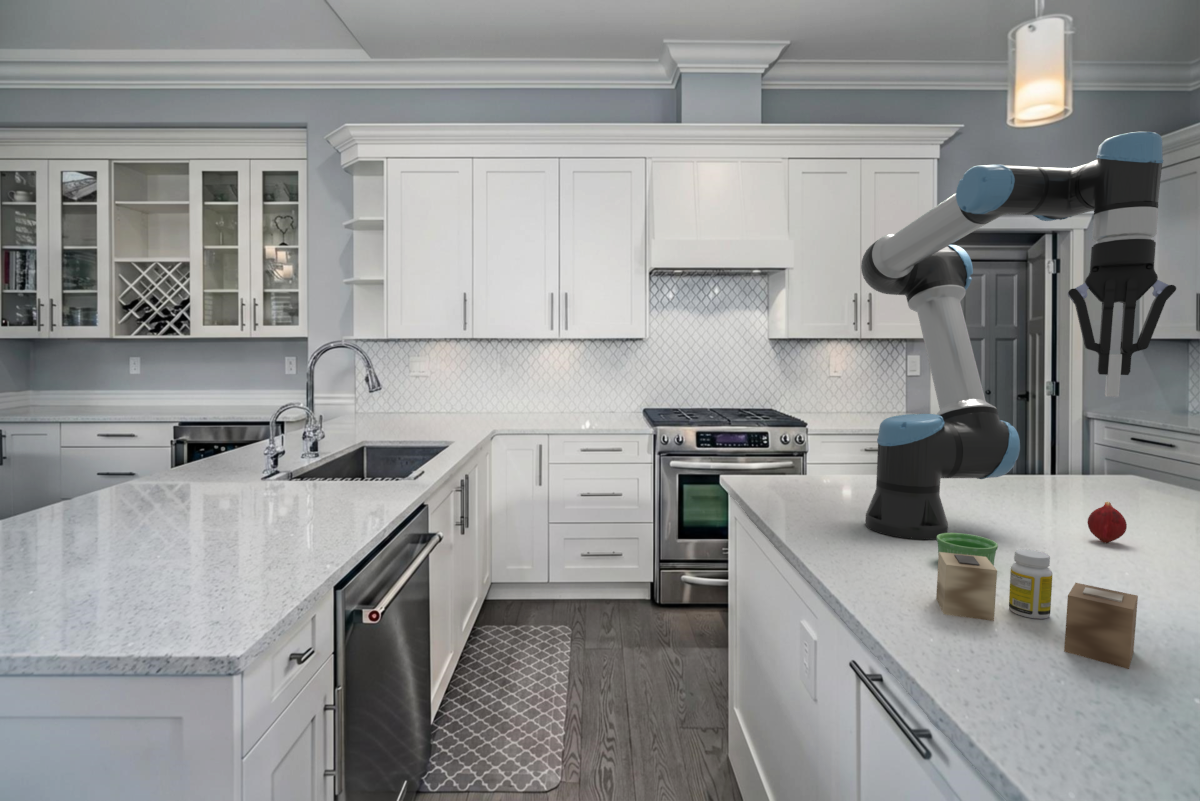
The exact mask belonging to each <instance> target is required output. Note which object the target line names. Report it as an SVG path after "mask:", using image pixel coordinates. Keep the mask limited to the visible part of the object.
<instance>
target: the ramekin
mask: <svg viewBox="0 0 1200 801" xmlns="http://www.w3.org/2000/svg"><path fill="white" fill-rule="evenodd" d="M936 541H937V553H938V554H937V556H938V557H939V552H945V553H954V554H964V555H974V556H983V557H987V558H988V560H989V561H990V562H991V563H992V565H993V566H994V565H995V559H996V554H997V553H996V552H997V550H998V548H999V545H998V543H997V542H996V541H994V540H992V539H989V538H987V537H983V536H980V535H976V534H968V533H961V532H948V533H942V534H939V535H937V539H936ZM994 567H995V566H994Z"/></svg>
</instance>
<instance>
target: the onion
mask: <svg viewBox="0 0 1200 801" xmlns="http://www.w3.org/2000/svg"><path fill="white" fill-rule="evenodd" d="M1087 525H1088V529H1089V531H1090V533H1091V534H1092V535H1093V536H1094V537H1095V538H1096V539H1097V540H1099V541H1100V542H1101V543H1103V544H1109V543H1111V542H1114V541H1117V540H1118V539H1120V538H1121V537H1122V536H1123V535H1124V534H1125V533H1126V531H1127V525H1128V524H1127V520H1126V519H1125V517H1124V516H1123V514H1122V513H1121V512H1120V511H1119V510H1117V509H1116V508H1115V507H1113V505H1112V503H1111V502H1109V501H1105V502H1104V505H1103V506H1101V507H1098V508H1096V509H1094V510H1093V511H1092V512H1091V513H1090V514H1089V516H1088V518H1087Z"/></svg>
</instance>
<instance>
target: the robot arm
mask: <svg viewBox="0 0 1200 801" xmlns="http://www.w3.org/2000/svg"><path fill="white" fill-rule="evenodd" d="M1163 164H1164V159H1163V137H1162V136H1161V135H1160V134H1159V133H1157V132H1153V131H1134V132H1127V133H1121V134H1118V135H1117V134H1116V135H1114V136H1112V137H1108V138H1106V139H1105V140H1103V142H1101V143H1100V145H1098V149H1097V153H1096V159H1095V160H1092V161H1090V162H1088V163H1086V164H1082V165H1079V166H1075V167H1072V168H1071V167H1068V168H1067V167H1044V166H1043V167H1041V166H1021V165H1004V164H1000V163H999V164H997V163H995V164H993V163H992V164H987V165H986V164H984V165H981V164H980V165H974V166H972V167H970V168H969V169H968V170H966V171H965V172H964V174H963V177H962V178H961V179H959V182H958V184H957V187H956V192H955V193H954V194H952V195H951V196H949V197H948V198H946V199H944V200H943V201H942V202H940V203H939V204H937V205H936V206H934V207H932V208H931V209H930V210H929V211H927V212H925V213H924V214H922V215H921V216H919V217H918V218H917V219H915V220H914V221H912V222H910V223H909V224H907V225H906V226H905V227H903V228H901V229H899V231H897V232H896V233H894V234H893V233H891V234H886V235H884V236H881V237H880V238H879V239H877V240H876V241H875V242H873V243H872V244H871V245H870V246H869V247H867V249H866V251H865V252H864V254H863V255H862V260H861V264H860V269H861V274H862V277H863V279H864V282H866V283H867V285H868V286H869V287H870V288H872V290H874V291H876V292H878V293H881V294H885V295H895V296H897V295H899V296H904V297H906V301H907V306H908V309H910V310H912V311H913V312H915V313H917V316H918V319H919V325H920V329H921V334H922V340H923V342H924V346H925V351H926V356H927V360H928V365H929V367H930V368H929V369H930V373H931V377H932V382H933V386H934V391H935V395H936V398H937V399H936V400H937V404H938V407H939V411H938V412H937V413H936V414H935V413H917V414H915V413H909V414H908V413H907V414H900V415H894V416H890V417H886V418H885V419H883V420H882V421H881V422H880V424H879V429H878V434H877V440H876V441H877V461H876V485H875V491H874V494H873V496H872V498H871V501H870V503H869V506H868V508H867V510H866V513H865V521H864V522H865V524H864V525H865V526H866V528H868V529H870V530H871V531H874V532H877V533H880V534H882V535H883V534H884V535H887V536H891V537H897V538H903V539H904V538H905V539H912V540H913V539H914V540H937V535H939V534H942V533H949V531H948V530H949V522H948V520H947V516H946V515H947V514H946V512H945V508H944V506H943V502H942V498H941V494H940V493H941V492H940V491H941V490H940V489H941V479H977V480H985V479H988V478H989V479H991V478H1000V477H1003V476H1005V475H1006V474H1008V473H1009V472H1010V471H1011V470H1012V469H1013V468H1014V466H1015V465H1016V461H1017V460H1018V459H1019V456H1020V451H1021V443H1020V442H1021V441H1020V435H1019V432H1018V431H1017V429H1016V428H1015V426H1013V425H1012V424H1011V423H1010V422H1007V421H1005V420H1001V419H1000V417H999V414H998V413H999V412H998V410H997V407H996V406H994V405H993V404H991V403H989V402H987V401H986V398H985V397H986V396H985V394H984V389H983V386H982V382H981V378H980V377H981V376H980V374H979V370H978V366H977V362H976V358H975V355H974V350H973V346H972V343H971V342H972V341H971V338H970V335H969V330H968V327H967V324H966V318H965V316H964V311H963V307H962V304H961V302H962V300H963V299H964V297H965V296H966V294H967V290H968V288H969V287H970V285H971V283H972V280H973V278H972V277H971V275H973V274H974V269H973V268H974V267H973V261H972V260H971V256H970V255H969V253H968V252H967V251H966V250H965V249H964V248H963V247H961V246H959V245H956V244H955V243H956V242H958V241H959V240H961V239H962V238H965V237H966V236H968V235H969V234H971V233H973V232H975V231H977V230H978V229H980V228H982V227H984V226H986V225H988V224H989V223H990V222H992V221H994V220H996V219H998V218H1000V217H1002V216H1004V215H1018V216H1019V215H1020V216H1021V215H1022V216H1023V215H1024V216H1033V217H1035V218H1036V219H1038V220H1039V221H1043V222H1044V221H1045V222H1051V221H1057V220H1059V221H1061V220H1067V219H1068V218H1072V217H1074V216H1077V215H1082V214H1085V213H1089V212H1093V222H1092V237H1091V240H1092V241H1093V242H1094V243H1095V244H1093V246H1091V250H1090V262H1089V263H1090V265H1089V273H1088V275H1087V276H1086V278H1085V280H1084V283H1082V284H1080V285H1078V286H1076V287H1075V288H1070V289H1069V290H1068V292H1067V296H1068V298H1069V299H1070V300H1071V301H1072V303H1073V304H1074V307H1075V310H1076V315H1077V319H1078V322H1079V323H1078V324H1079V327H1080V332H1081V336H1082V341H1083V345H1084V349H1086V350H1087V351H1088V350H1089V351H1092V352H1095V353H1096V354H1098V359H1097V360H1098V362H1097V374H1098V375H1106V376H1105V386H1104V387H1105V390H1104V397H1107V398H1110V397H1111V398H1120V389H1121V377H1122V376H1129V375H1130V373H1131V365H1132V355H1133V354H1134V353H1136V352H1139V351H1144V350H1147V349H1148V348H1149V345H1150V343H1151V340H1152V338H1153V335H1154V332H1155V330H1156V327H1157V324H1158V322H1159V320H1160V318H1161V315H1162V312H1163V310H1164V308H1165V304H1166V302H1167V300H1168V299H1170V297H1171V296H1172V295H1174V293H1175V292H1176V291H1177V286H1175V284H1167V283H1166V282H1163V281H1161V280H1160V279H1158V278H1159V277H1158V274H1157V272H1156V270H1155V258H1156V256H1155V255H1156V246H1157V243H1156V241H1155V240H1154V239H1152V238H1154V237H1155V236H1157V233H1158V232H1157V230H1158V215H1159V198H1160V197H1159V196H1160V186H1161V177H1162V170H1163ZM1152 287H1153V291H1152V296H1153V297H1154V299H1153V300H1152V303H1151V305H1150V307H1149V310H1148V313H1147V315H1146V318H1145V320H1144V323H1143V325H1142V328H1141V331H1140V333H1139V336H1138V338H1137V341H1136V342H1135V343H1134V331H1135V316H1136V307H1137V302H1138V300H1140V299H1141V298H1142V297H1143V296H1144V295H1145V294H1146V293H1147V292H1148V291H1149V290H1150V289H1151V288H1152ZM1088 290H1089V291H1090V292H1091V294H1093V295H1094V297H1095V298H1096V299H1097V300H1098V301H1099V302H1101V314H1100V329H1099V341H1098V342H1096V341H1095V336H1094V333H1093V327H1092V324H1091V319H1090V315H1089V311H1088V307H1087V302H1086V300H1085V299H1086V298H1087V297H1088V292H1087V291H1088ZM1116 303H1121V304H1122V318H1121V319H1122V321H1121V333H1120V334H1121V336H1120V349H1119V351H1120V353H1112V354H1111V346H1112V345H1111V343H1112V332H1113V331H1112V330H1113V319H1114V318H1113V317H1114V307H1115V304H1116Z"/></svg>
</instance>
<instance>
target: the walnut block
mask: <svg viewBox="0 0 1200 801" xmlns="http://www.w3.org/2000/svg"><path fill="white" fill-rule="evenodd" d="M1138 599H1139V595H1137V594H1132V593H1127V592H1121V591H1118V590H1112V589H1109V588H1103V587H1097V586H1094V585H1089V584H1084V583H1081V582H1075V583H1074V584H1073V586H1072V588H1071V589H1070V591H1069V592H1068V595H1067V603H1066V615H1065V616H1066V617H1065V620H1066V621H1065V631H1064V632H1065V633H1064V649H1063V652H1065V653H1068V654H1072V655H1075V656H1079V657H1083V658H1087V659H1090V660H1093V661H1098V662H1100V663H1101V662H1102V663H1104V664H1109V665H1111V666H1116V667H1119V668H1122V669H1127V670H1130V667H1131V663H1132V659H1133V655H1134V650H1135V641H1136V640H1135V637H1136V624H1137V612H1138Z"/></svg>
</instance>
